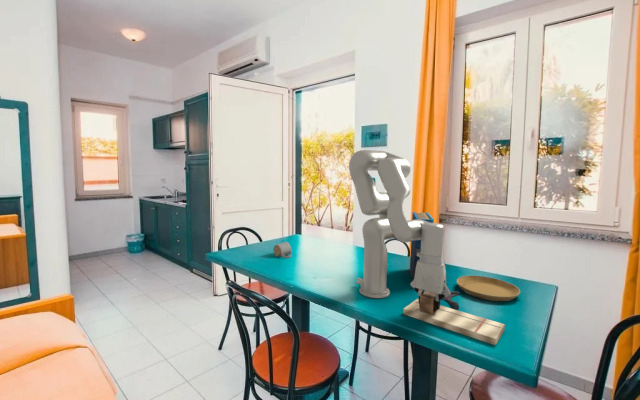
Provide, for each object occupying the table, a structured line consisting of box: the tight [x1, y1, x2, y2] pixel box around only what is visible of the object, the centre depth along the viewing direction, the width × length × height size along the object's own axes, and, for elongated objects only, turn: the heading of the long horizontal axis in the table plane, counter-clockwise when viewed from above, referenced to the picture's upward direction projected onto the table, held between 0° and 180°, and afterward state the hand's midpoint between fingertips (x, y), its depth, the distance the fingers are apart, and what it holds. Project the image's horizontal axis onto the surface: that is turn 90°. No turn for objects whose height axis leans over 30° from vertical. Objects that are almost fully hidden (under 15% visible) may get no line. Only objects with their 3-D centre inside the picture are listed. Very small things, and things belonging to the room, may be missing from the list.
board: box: [402, 298, 506, 346], centre depth 111 cm, size 30×12×2 cm, turn 49°
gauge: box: [419, 291, 435, 314], centre depth 116 cm, size 4×9×6 cm, turn 139°
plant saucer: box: [456, 275, 521, 302], centre depth 138 cm, size 24×24×3 cm
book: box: [409, 211, 435, 282], centre depth 152 cm, size 24×9×30 cm, turn 168°
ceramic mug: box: [273, 241, 293, 259], centre depth 186 cm, size 11×8×8 cm
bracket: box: [441, 290, 460, 310], centre depth 128 cm, size 14×15×3 cm
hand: (428, 307), depth 115 cm, fingers closed on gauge, 4 cm apart
